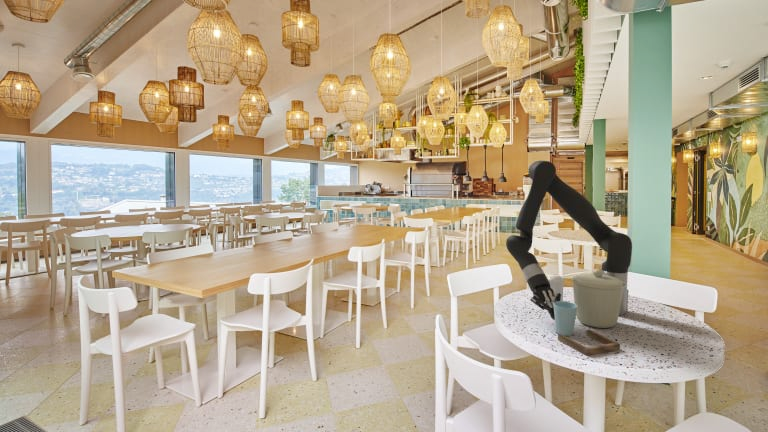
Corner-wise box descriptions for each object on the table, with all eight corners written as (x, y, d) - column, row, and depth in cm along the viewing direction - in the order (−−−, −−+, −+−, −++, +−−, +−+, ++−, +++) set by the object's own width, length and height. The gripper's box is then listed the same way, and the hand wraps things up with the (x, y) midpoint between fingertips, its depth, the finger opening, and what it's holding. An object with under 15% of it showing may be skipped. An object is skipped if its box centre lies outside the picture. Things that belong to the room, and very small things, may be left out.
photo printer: (555, 299, 170) (556, 272, 169) (564, 301, 167) (565, 274, 165) (542, 303, 164) (542, 276, 163) (550, 306, 161) (551, 278, 160)
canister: (619, 337, 128) (622, 277, 126) (563, 324, 140) (565, 270, 138) (627, 321, 142) (630, 268, 140) (576, 311, 154) (577, 261, 152)
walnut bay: (589, 334, 130) (589, 329, 130) (619, 349, 119) (620, 343, 118) (557, 339, 127) (557, 334, 126) (586, 355, 115) (586, 349, 115)
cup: (580, 333, 131) (581, 305, 130) (569, 339, 127) (570, 309, 126) (560, 327, 138) (560, 299, 137) (548, 332, 133) (549, 304, 132)
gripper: (525, 274, 142) (546, 316, 131) (554, 271, 145) (577, 312, 135) (517, 283, 147) (536, 324, 137) (545, 281, 151) (565, 321, 140)
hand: (556, 318), depth 136 cm, fingers closed
